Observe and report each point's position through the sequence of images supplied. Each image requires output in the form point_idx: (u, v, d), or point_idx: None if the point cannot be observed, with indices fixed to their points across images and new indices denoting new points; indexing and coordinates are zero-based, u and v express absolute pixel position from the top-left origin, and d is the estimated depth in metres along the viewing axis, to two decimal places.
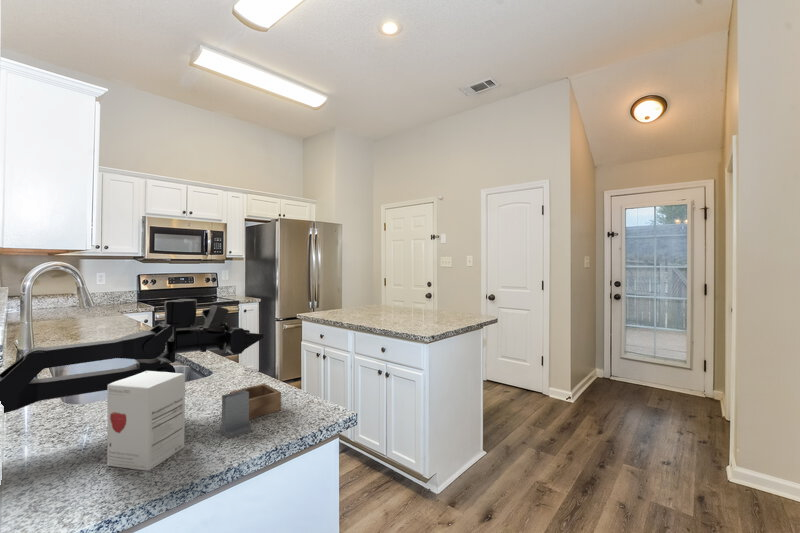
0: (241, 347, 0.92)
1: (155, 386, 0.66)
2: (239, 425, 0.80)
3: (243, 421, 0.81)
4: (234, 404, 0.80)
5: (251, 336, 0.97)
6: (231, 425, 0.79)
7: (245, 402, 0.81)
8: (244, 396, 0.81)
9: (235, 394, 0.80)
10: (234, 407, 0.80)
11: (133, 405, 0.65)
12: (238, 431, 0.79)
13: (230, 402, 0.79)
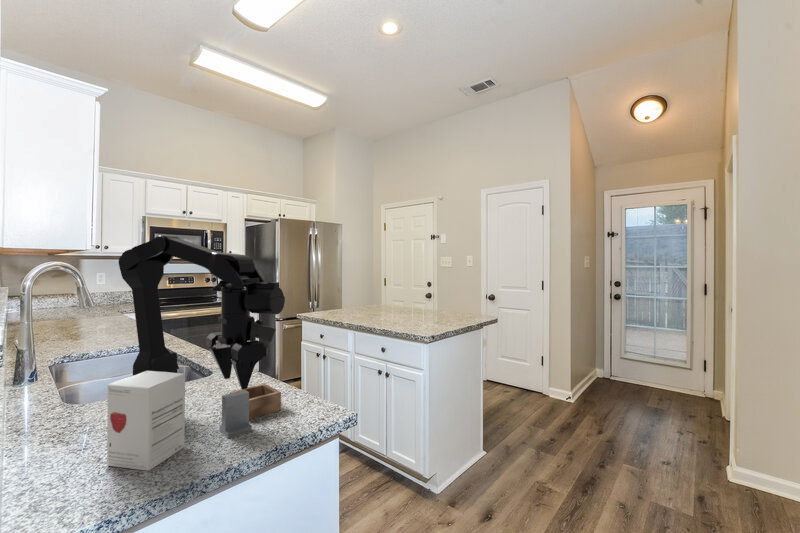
0: (247, 358, 0.73)
1: (155, 386, 0.66)
2: (239, 425, 0.80)
3: (243, 421, 0.81)
4: (234, 404, 0.80)
5: (248, 371, 0.77)
6: (231, 425, 0.79)
7: (245, 402, 0.81)
8: (244, 396, 0.81)
9: (235, 394, 0.80)
10: (234, 407, 0.80)
11: (133, 405, 0.65)
12: (238, 431, 0.79)
13: (230, 402, 0.79)
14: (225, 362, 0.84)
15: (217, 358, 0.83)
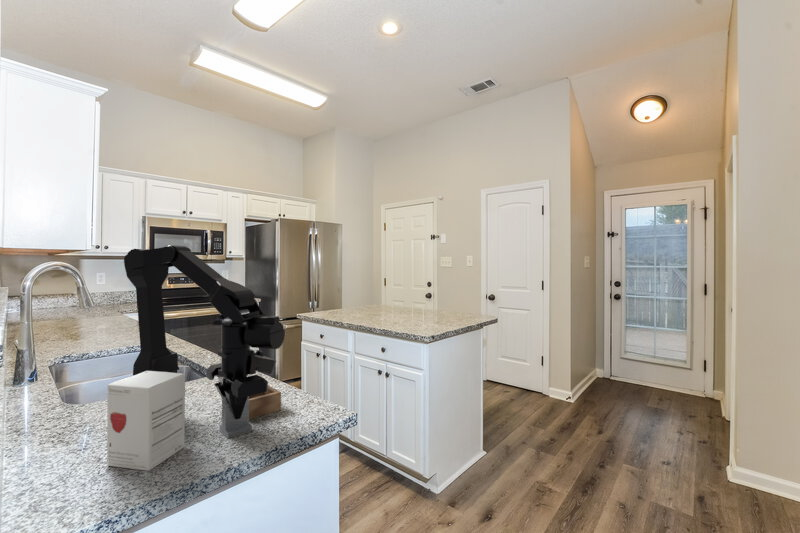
0: (247, 395, 0.73)
1: (155, 386, 0.66)
2: (239, 425, 0.80)
3: (243, 421, 0.81)
4: None
5: (242, 402, 0.79)
6: (231, 425, 0.79)
7: None
8: None
9: None
10: None
11: (133, 405, 0.65)
12: (238, 430, 0.79)
13: None
14: None
15: None
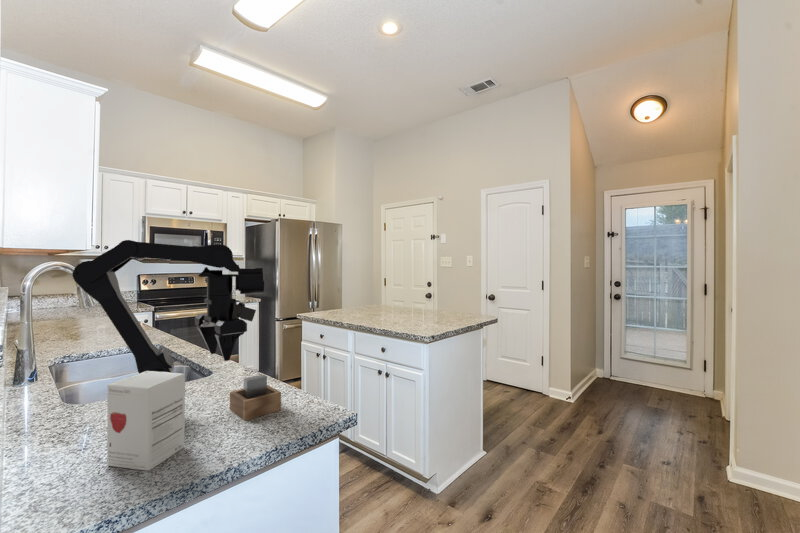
0: (228, 332, 0.85)
1: (155, 386, 0.66)
2: None
3: None
4: (254, 386, 0.91)
5: (230, 345, 0.89)
6: None
7: (263, 385, 0.93)
8: (263, 379, 0.92)
9: (255, 377, 0.92)
10: (254, 389, 0.91)
11: (133, 405, 0.65)
12: None
13: (251, 384, 0.90)
14: (211, 339, 0.96)
15: (204, 335, 0.94)
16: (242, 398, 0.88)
